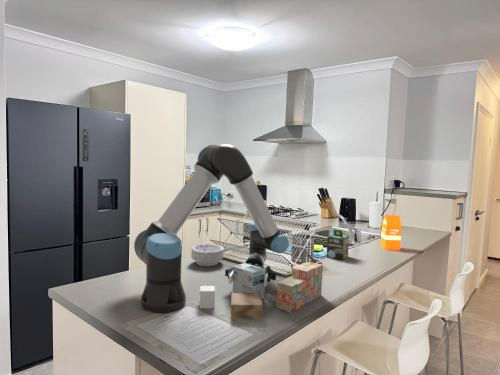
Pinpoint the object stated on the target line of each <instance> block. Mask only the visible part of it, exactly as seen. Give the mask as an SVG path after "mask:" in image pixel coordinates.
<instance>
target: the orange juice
mask: <svg viewBox="0 0 500 375" xmlns="http://www.w3.org/2000/svg"><path fill="white" fill-rule="evenodd" d="M380 236H381V239H380V248H382V249H383V250H385V251H400V250H401V241H402V221H401V216H400V215H390V214H384V218H383V219H382V223H381V235H380Z"/></svg>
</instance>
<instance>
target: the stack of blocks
mask: <svg viewBox="0 0 500 375" xmlns="http://www.w3.org/2000/svg"><path fill="white" fill-rule="evenodd" d="M323 268H324V265H323V264H322V263H321V264H320V263H317V262H316V263H315V262H312V261H307V262H303V263H302V262H301V264H298V265H296V266H293V267H292V268H291V275H290V276H289V277H286V278H284V279H282V280H279V281H277V286H276V289H277V291H276V303H275V307H276V308H277V309H280V310H283V311H285V312H288V313H293V312H294V311H297V310H299V309H300V308H302V307H303V306H306V305H307V304H308V303H311V302H312V301H314V300H316V299H317V298H319V297H321V296H322V290H323V289H322V285H323Z"/></svg>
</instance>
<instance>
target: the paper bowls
mask: <svg viewBox="0 0 500 375" xmlns="http://www.w3.org/2000/svg"><path fill="white" fill-rule="evenodd" d="M224 250H225V249H224V247H223V246H221V245H218V244H216V243H215V244H214V243H201V244H200V243H199V244H195V245H193V246H192V247H191V255H190V256H191V259H192V260H193V261H195V263H196V264H197V265H199V266H200V267H213V266H216V265H218V263H219V262H220V261H221V260H223V258H224Z"/></svg>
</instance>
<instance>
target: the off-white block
mask: <svg viewBox="0 0 500 375" xmlns="http://www.w3.org/2000/svg"><path fill="white" fill-rule="evenodd" d="M215 299H216V285H200V288H199V309H215V304H216V302H215V301H216V300H215Z"/></svg>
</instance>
